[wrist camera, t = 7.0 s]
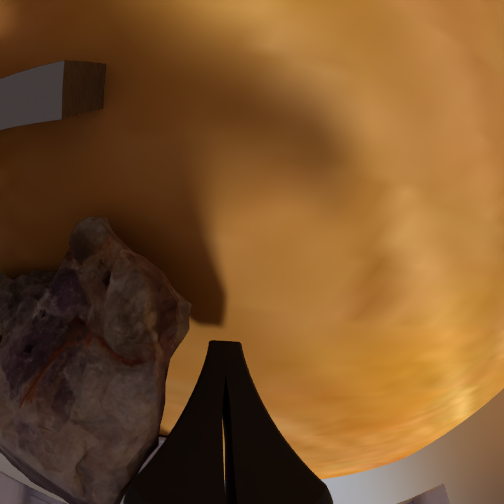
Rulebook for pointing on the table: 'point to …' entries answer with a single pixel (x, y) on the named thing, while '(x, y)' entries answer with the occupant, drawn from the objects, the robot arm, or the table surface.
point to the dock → (51, 92)
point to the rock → (87, 366)
